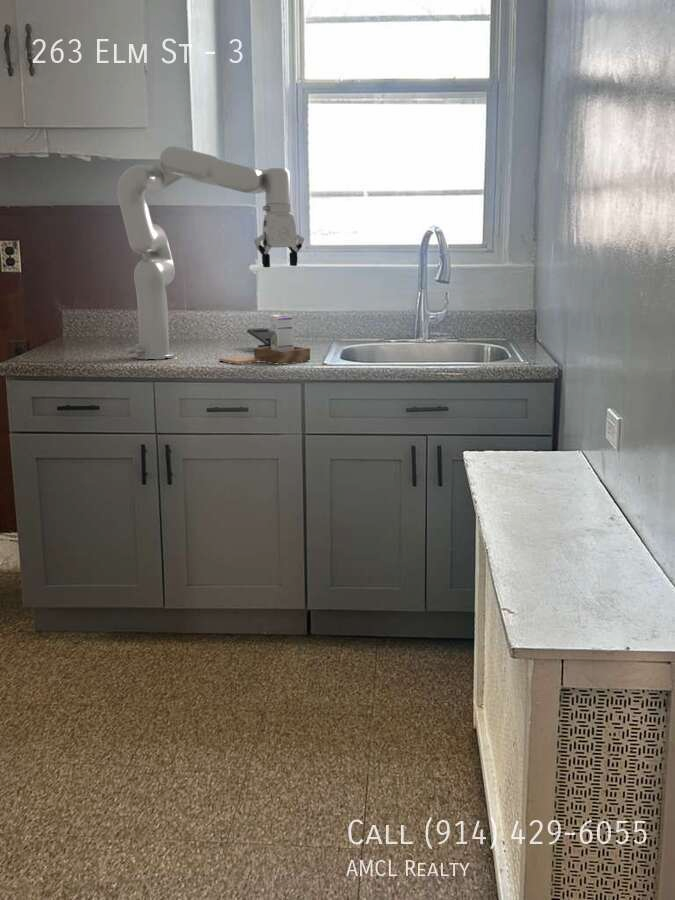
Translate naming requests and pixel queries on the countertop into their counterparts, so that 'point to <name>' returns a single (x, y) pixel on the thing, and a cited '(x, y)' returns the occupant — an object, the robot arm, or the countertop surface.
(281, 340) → the syrup box
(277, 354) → the walnut caddy
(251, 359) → the terracotta tile
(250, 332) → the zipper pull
